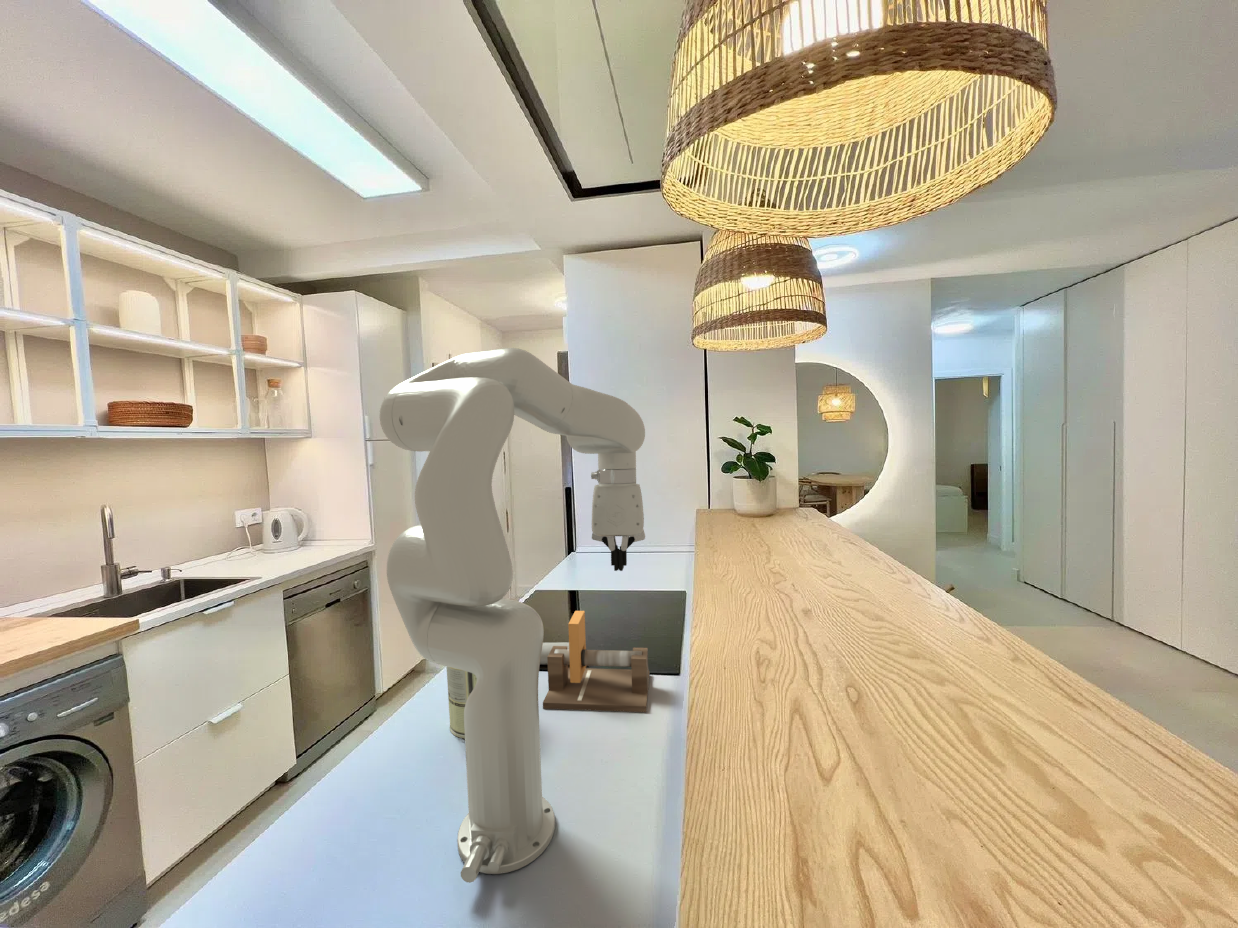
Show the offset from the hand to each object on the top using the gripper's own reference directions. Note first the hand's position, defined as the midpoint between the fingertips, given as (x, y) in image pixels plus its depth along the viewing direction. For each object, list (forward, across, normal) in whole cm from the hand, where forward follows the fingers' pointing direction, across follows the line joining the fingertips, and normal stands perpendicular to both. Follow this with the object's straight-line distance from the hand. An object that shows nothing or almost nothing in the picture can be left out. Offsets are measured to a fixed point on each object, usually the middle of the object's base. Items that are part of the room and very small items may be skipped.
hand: (619, 568), depth 97 cm
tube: (+26, -22, +12) cm, 37 cm away
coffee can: (+26, -26, -11) cm, 38 cm away
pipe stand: (+26, -5, +1) cm, 26 cm away
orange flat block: (+22, -9, +1) cm, 24 cm away
